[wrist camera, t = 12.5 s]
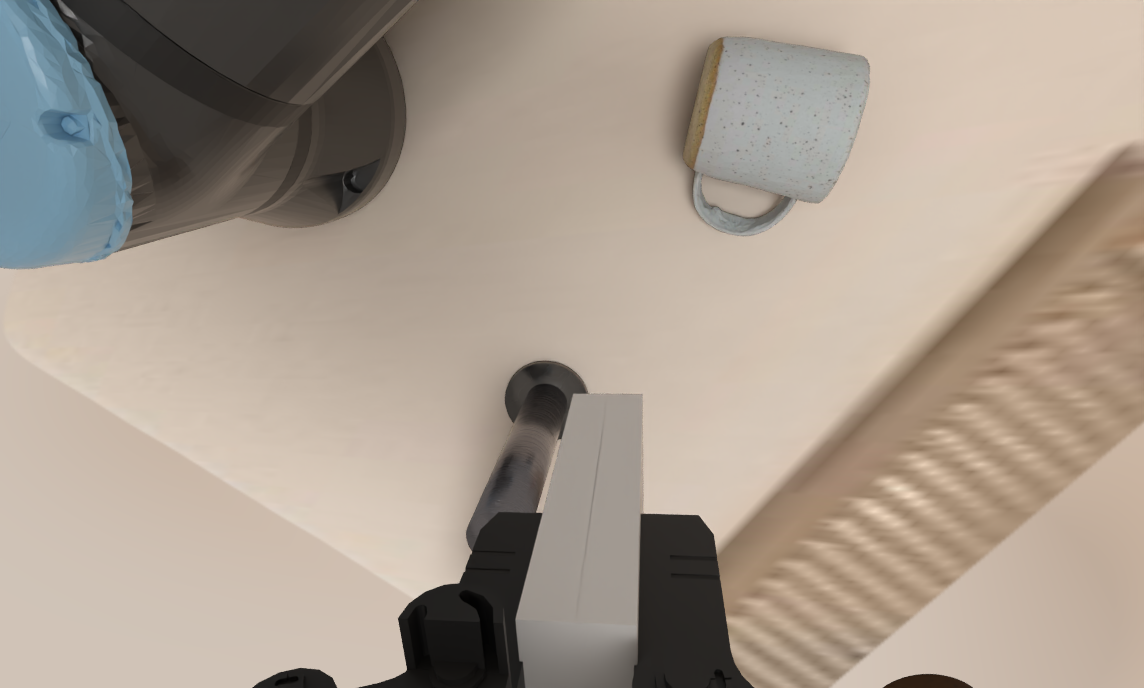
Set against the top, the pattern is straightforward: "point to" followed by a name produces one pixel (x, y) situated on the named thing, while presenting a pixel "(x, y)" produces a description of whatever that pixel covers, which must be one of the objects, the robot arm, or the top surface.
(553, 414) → the gate post
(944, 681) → the olive oil
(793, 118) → the ceramic mug
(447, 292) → the top surface
